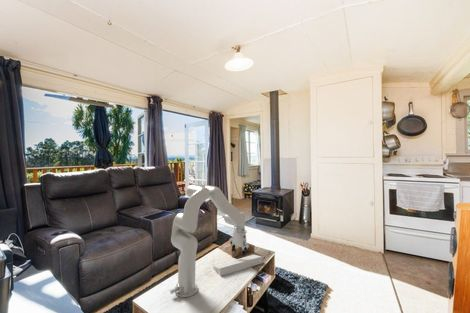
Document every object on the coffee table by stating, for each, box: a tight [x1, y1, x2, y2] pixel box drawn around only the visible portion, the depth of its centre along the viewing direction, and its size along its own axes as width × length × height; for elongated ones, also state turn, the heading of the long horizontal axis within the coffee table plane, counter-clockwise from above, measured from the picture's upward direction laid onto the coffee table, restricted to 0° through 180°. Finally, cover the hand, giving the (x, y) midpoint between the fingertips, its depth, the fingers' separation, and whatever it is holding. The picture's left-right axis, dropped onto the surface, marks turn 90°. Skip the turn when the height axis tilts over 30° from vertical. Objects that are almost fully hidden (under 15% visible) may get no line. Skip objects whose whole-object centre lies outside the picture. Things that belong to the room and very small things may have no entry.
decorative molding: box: [212, 254, 263, 277], centre depth 149 cm, size 34×5×10 cm
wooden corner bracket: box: [231, 242, 255, 258], centre depth 165 cm, size 17×9×6 cm, turn 139°
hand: (238, 253), depth 152 cm, fingers open, 9 cm apart
